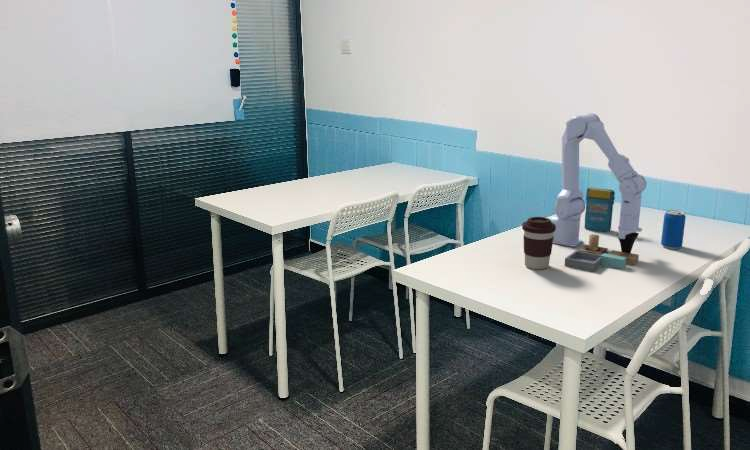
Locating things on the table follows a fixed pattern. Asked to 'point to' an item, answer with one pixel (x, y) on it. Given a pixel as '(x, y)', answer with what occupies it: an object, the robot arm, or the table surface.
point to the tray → (583, 261)
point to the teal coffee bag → (599, 209)
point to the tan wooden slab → (630, 259)
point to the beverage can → (673, 229)
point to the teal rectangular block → (613, 261)
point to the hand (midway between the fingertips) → (625, 254)
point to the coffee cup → (538, 242)
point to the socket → (600, 251)
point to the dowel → (593, 242)
